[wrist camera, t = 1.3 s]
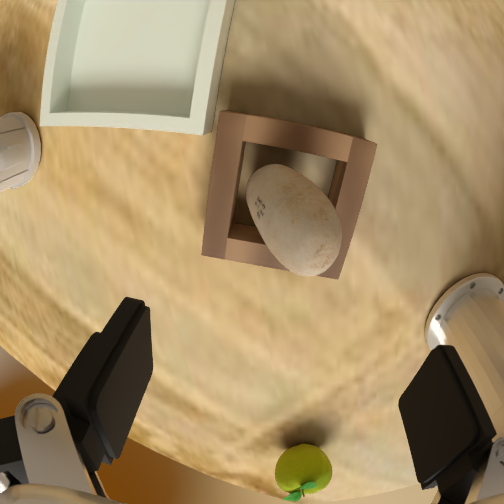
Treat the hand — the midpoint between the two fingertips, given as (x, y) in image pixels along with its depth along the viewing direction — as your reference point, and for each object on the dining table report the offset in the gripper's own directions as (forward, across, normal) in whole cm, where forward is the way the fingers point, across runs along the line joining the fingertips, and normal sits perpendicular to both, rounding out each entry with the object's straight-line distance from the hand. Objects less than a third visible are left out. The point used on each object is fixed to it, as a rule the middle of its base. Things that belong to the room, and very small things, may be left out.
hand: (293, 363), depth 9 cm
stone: (+20, 0, 0) cm, 20 cm away
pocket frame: (+20, 0, 0) cm, 20 cm away
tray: (+20, +15, -12) cm, 28 cm away
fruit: (+20, -13, +42) cm, 48 cm away
